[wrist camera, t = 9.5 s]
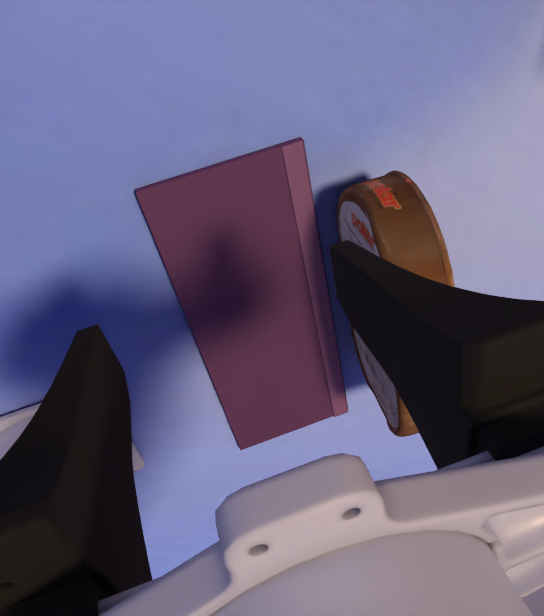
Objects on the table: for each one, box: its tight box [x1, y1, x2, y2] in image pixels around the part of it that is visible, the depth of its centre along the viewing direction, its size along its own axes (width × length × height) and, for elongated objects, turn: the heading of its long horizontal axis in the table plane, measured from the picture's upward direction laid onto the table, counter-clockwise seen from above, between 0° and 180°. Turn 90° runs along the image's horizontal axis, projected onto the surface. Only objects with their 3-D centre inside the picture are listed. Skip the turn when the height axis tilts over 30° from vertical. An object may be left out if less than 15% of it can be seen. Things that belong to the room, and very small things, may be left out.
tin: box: [337, 171, 454, 437], centre depth 27 cm, size 15×3×8 cm, turn 11°
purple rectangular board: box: [135, 137, 348, 450], centre depth 30 cm, size 8×20×1 cm, turn 12°
